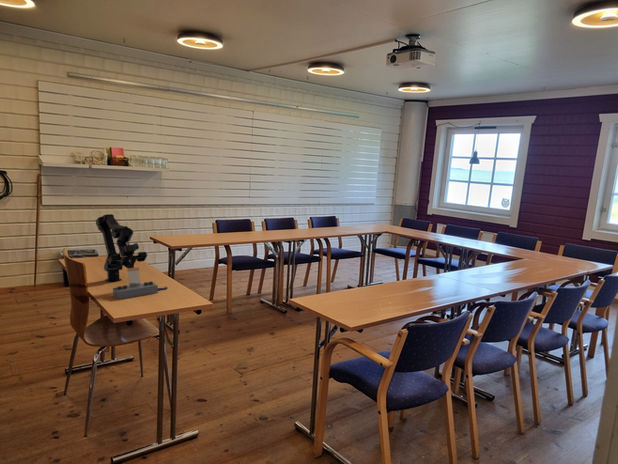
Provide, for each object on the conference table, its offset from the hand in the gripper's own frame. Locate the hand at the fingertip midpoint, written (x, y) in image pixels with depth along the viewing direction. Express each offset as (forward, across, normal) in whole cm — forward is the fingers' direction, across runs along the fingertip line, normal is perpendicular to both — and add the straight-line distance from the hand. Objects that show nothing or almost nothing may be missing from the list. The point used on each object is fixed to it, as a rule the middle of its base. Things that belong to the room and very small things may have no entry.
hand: (132, 271), depth 225 cm
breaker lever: (+6, 0, +2) cm, 7 cm away
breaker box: (+11, +3, +5) cm, 12 cm away
